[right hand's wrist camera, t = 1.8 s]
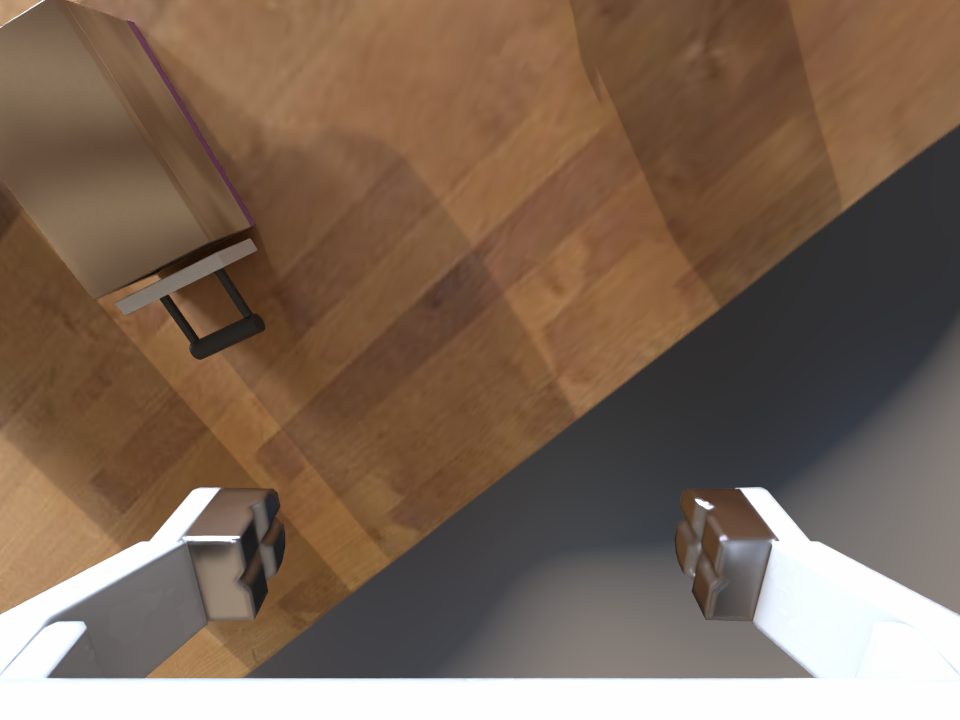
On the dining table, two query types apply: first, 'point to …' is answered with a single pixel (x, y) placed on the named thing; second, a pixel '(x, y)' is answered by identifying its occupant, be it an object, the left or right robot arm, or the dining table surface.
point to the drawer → (200, 269)
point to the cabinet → (106, 149)
